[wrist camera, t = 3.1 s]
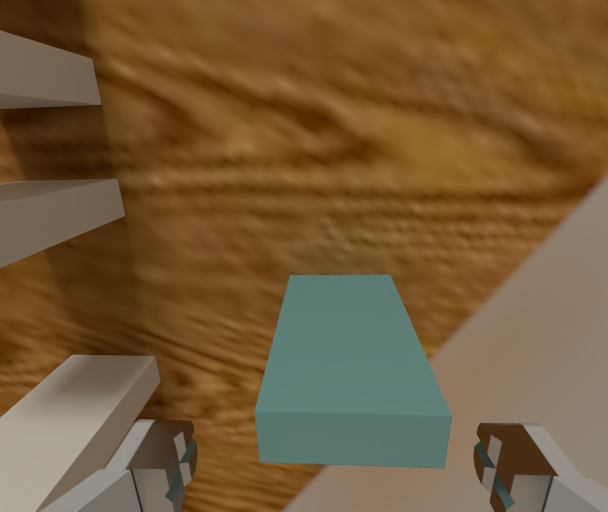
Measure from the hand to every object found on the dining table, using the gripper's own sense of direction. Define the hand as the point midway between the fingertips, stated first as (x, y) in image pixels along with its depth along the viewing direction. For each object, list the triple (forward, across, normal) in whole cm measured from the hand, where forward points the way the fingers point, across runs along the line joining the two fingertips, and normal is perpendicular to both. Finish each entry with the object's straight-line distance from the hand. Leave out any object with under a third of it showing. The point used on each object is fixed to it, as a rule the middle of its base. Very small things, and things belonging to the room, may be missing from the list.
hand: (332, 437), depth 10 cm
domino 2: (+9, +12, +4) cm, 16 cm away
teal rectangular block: (+8, -1, -1) cm, 8 cm away
